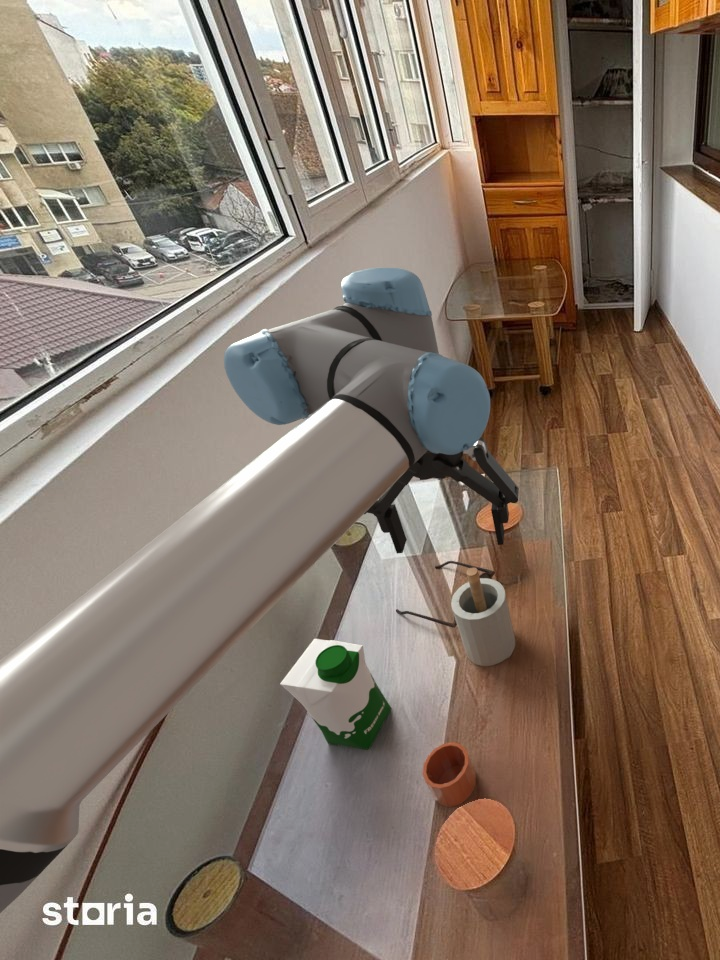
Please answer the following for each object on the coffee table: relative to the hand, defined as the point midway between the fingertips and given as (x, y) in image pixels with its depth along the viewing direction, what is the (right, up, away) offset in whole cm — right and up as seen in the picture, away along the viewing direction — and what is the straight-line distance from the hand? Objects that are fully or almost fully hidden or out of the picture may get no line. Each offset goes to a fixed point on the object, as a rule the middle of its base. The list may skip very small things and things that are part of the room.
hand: (452, 542), depth 72 cm
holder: (-1, -37, +5) cm, 38 cm away
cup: (-2, -23, +24) cm, 33 cm away
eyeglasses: (-13, -16, +33) cm, 39 cm away
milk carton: (-19, -32, +12) cm, 39 cm away
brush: (-2, -22, +24) cm, 32 cm away
